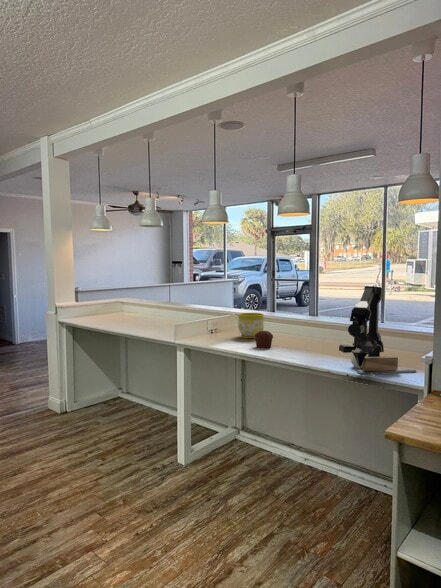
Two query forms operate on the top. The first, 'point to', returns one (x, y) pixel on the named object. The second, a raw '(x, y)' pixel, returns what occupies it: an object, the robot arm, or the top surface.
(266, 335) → the muffin
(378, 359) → the wooden block
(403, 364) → the top surface
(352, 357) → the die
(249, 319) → the flowerpot
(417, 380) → the top surface
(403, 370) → the rail
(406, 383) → the top surface
